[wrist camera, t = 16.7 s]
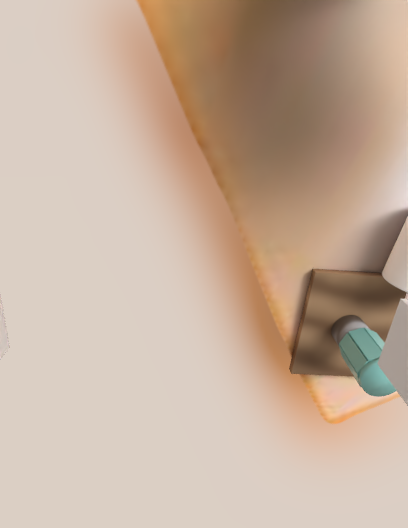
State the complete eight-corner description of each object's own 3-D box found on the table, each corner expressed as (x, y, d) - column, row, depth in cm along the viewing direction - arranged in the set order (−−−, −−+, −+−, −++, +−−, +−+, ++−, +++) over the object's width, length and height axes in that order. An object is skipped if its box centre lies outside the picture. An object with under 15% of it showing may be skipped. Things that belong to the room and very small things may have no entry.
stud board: (312, 268, 50) (338, 302, 41) (406, 275, 51) (451, 309, 42) (289, 368, 57) (306, 415, 48) (371, 372, 58) (403, 418, 49)
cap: (363, 364, 51) (387, 401, 44) (332, 352, 50) (353, 388, 43) (385, 336, 49) (415, 370, 42) (354, 323, 48) (379, 356, 41)
